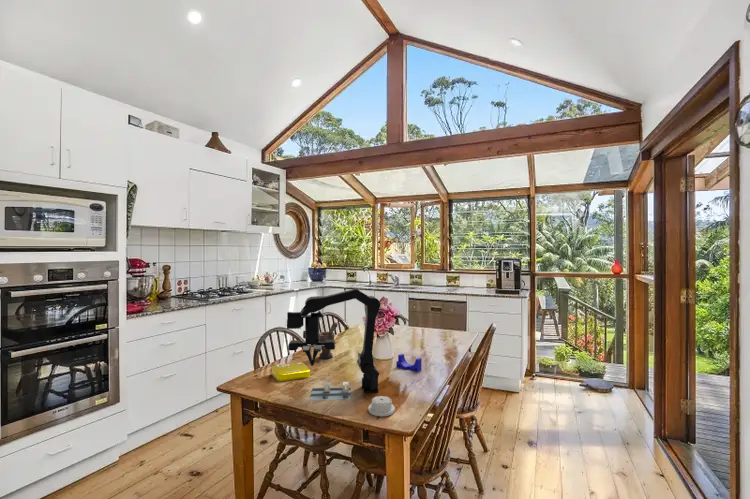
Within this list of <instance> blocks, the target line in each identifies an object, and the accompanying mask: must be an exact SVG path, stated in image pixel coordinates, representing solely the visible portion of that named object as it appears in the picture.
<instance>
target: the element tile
mask: <svg viewBox="0 0 750 499" xmlns="http://www.w3.org/2000/svg"><path fill="white" fill-rule="evenodd" d="M271 370H272V372H271V373H272V374H271V375H272V377H273V378H274V379H275V380H276V381H277V382H287V381H294V380H300V379H307V378H310V376H311V370H310V368H309V367H308V366H307V365H306V364H305V363H304V362H303V361H299V362H298V361H297V362H291V363H283V364H282V363H281V364H276V365H273V366H272V369H271Z"/></svg>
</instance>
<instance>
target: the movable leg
mask: <svg viewBox="0 0 750 499" xmlns="http://www.w3.org/2000/svg"><path fill="white" fill-rule="evenodd" d="M331 387H332V385H331V381H324V384H323V388H324V393H330V389H331Z"/></svg>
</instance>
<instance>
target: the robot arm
mask: <svg viewBox="0 0 750 499" xmlns="http://www.w3.org/2000/svg"><path fill="white" fill-rule="evenodd" d="M352 300H357V301H358V302H360V303H361V304H362V305H364V313H365V324H364V333H363V344H362V350H361V353H360V352H358V353H357V361H356V362H357V365H358V368H359V369H360V371H361V373H362V377H361V389H362V390H363V393H378V392H379V375H380V373H379V371H378V369H377V367H376V366H375V364H374V363H375V361H374V354H373V349H374V339H375V338H374V337H375V328H376V327H375V326H376V319H377V317H378V314H379V312H380V308H381V302H380V300H379V299H378V298H377V297H375V296H373V295H370V296H369V295H367V294H365V293H364V292H362V291H360V290H359V289H358V288H356V287H355V288H352V289H348V290H345V291H341V292H338V293H337V292H336V293H333V294H328V295H320V296H316V295H315V296H309V297H307V298H306V300H305V302H304V306H303V307H302V309H301V310H300V311H297V312H293V311H288V312H286V313H287V316H286V318H287V319H286V330H299V329H302V327H303V326H305V327H304V328H305V329H304V330H303V332H302V338H303V339H304V342H301V341H300V340H299V339H297V340H296V339H294V340H293V339H292V340H290V341H289V342H288V345H287V346H288V347H287V348H288V351H298V349H299V348H302V353H305V355H306V356H307V358H308V360H309V364H310V366H311V367H313V366H314V365H315V361H316V358H317V356H318V353H321V352H322V350H321V347H325V348H326V349H327V350H330V351H331V350H336V340H335V339H334V340H326V341H325V342H319V341H320V334H319V333H320V318H325V317H324V314H323V313H322V312H321V310H322V309H325V308H326V307H328V306H331V305H337V304H340V303H344V302H347V301H352ZM312 348H313V351H312ZM312 352H313V353H312Z"/></svg>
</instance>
